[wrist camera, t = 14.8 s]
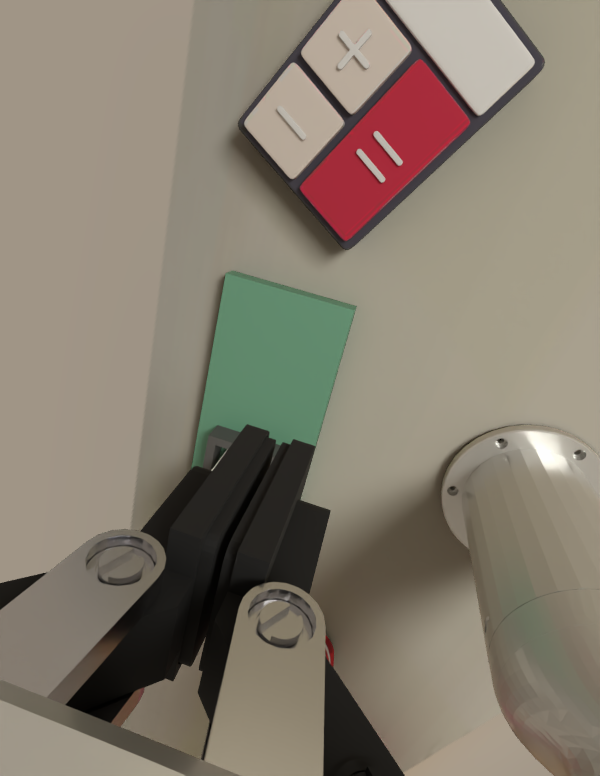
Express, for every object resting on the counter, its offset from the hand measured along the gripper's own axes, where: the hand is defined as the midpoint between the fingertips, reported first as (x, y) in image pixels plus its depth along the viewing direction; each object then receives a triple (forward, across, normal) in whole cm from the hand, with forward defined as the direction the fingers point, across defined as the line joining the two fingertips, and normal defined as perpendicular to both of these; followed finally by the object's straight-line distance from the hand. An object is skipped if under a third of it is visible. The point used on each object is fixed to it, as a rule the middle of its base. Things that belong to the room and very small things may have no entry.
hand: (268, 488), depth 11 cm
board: (+27, +5, +12) cm, 30 cm away
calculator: (+28, +2, -12) cm, 30 cm away
